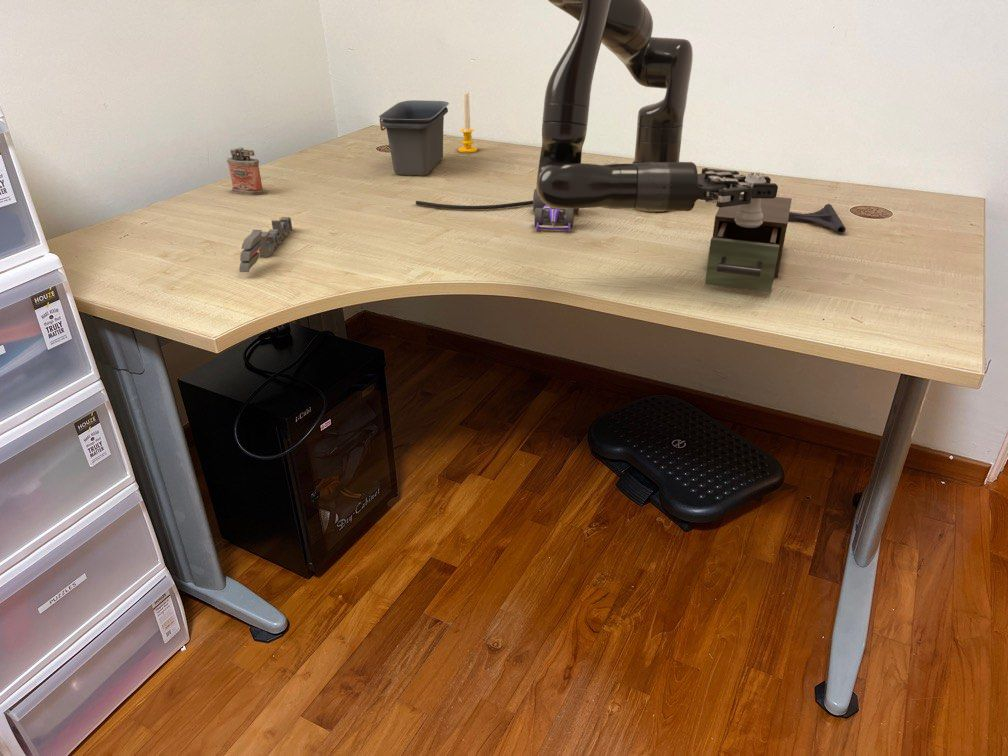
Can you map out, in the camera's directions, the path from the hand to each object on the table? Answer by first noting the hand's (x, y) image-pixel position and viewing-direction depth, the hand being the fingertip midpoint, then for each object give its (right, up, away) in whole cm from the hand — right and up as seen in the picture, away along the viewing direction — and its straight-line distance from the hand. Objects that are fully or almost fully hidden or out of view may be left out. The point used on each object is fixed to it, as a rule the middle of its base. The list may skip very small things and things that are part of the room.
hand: (772, 187), depth 120 cm
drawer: (-3, -14, +7) cm, 16 cm away
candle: (-52, +32, +88) cm, 107 cm away
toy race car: (-32, +2, +37) cm, 49 cm away
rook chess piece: (-3, -5, +3) cm, 7 cm away
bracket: (+18, +2, +35) cm, 39 cm away
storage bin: (-65, +23, +74) cm, 101 cm away
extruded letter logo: (-86, -7, +23) cm, 90 cm away
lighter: (-101, +13, +56) cm, 117 cm away
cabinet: (+1, -9, +17) cm, 20 cm away
